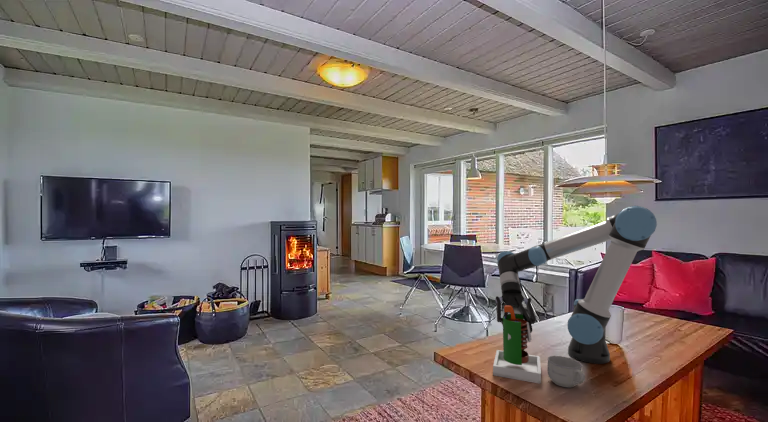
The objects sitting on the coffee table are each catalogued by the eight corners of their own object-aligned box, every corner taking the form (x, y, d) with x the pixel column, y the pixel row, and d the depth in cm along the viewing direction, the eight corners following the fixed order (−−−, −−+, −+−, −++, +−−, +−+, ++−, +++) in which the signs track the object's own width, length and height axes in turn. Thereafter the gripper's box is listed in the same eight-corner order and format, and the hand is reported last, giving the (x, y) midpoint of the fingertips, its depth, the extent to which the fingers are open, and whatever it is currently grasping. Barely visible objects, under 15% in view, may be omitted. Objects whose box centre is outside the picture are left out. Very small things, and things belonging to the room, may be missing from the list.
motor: (531, 365, 134) (529, 310, 134) (505, 364, 136) (503, 310, 135) (526, 353, 144) (524, 302, 144) (502, 353, 146) (500, 302, 145)
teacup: (541, 376, 135) (541, 354, 135) (569, 375, 136) (570, 354, 136) (562, 396, 121) (563, 372, 121) (594, 395, 122) (595, 371, 122)
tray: (539, 365, 144) (539, 356, 144) (540, 383, 130) (540, 373, 129) (496, 358, 150) (496, 349, 150) (492, 375, 135) (493, 365, 135)
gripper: (533, 291, 154) (544, 345, 138) (484, 289, 156) (490, 342, 140) (537, 281, 148) (549, 336, 132) (487, 279, 150) (493, 333, 135)
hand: (519, 339), depth 136 cm, fingers closed on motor, 6 cm apart
